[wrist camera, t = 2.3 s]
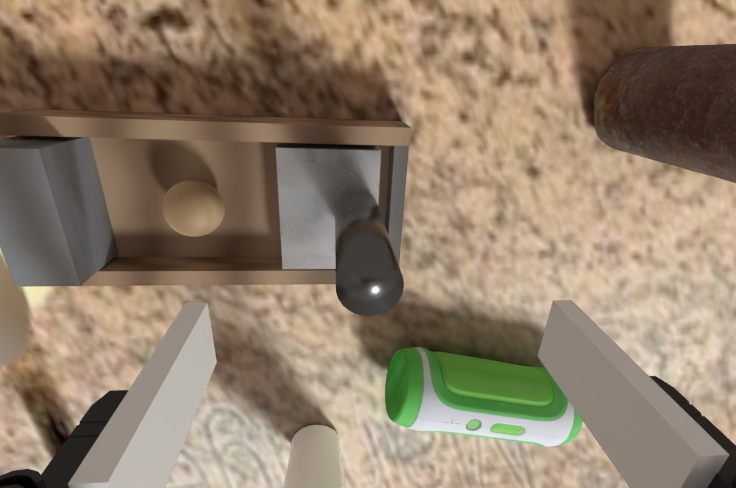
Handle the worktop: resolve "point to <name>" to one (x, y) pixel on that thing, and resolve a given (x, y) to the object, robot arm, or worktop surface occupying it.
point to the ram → (338, 221)
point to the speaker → (477, 398)
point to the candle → (673, 107)
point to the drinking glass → (315, 459)
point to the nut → (193, 208)
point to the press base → (163, 195)
